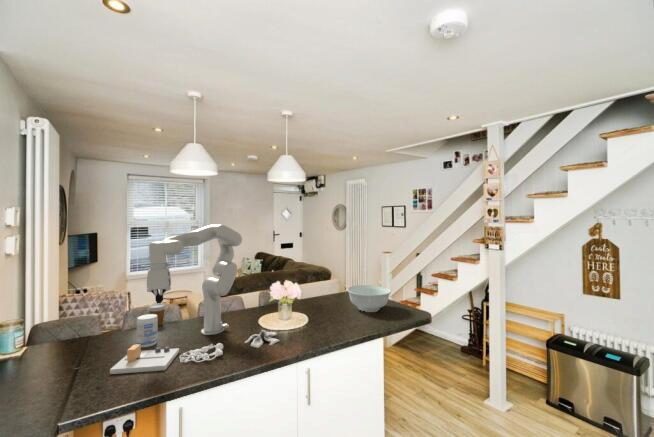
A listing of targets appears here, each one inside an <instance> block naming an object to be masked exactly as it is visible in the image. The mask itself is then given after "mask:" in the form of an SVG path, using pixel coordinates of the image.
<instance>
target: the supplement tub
mask: <svg viewBox="0 0 654 437" xmlns="http://www.w3.org/2000/svg"><path fill="white" fill-rule="evenodd" d="M158 327H159V326H158V318H157V315H156V314H149V313H148V314H142V315H140V316H137V318H136V344H141V348H148V347H152V346H154V345H156V344H157V343H158V330H159V328H158ZM136 344H135V345H136Z"/></svg>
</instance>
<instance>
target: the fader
mask: <svg viewBox="0 0 654 437" xmlns="http://www.w3.org/2000/svg"><path fill="white" fill-rule="evenodd" d="M141 351H142V347H141V344H133V345H131V346H130V347H129V348H128V349H127V350H126V355H127V361H135V360H136V359H137V358H138V357H139V356H140V355H141Z"/></svg>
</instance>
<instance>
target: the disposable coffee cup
mask: <svg viewBox="0 0 654 437" xmlns="http://www.w3.org/2000/svg"><path fill="white" fill-rule="evenodd" d="M147 310H148V312H149V313H148V314H156V315H157V318H158V327H160V326H162V325H164V317H165V316H164V315H165V310H166V305H165V304H164V303H158V304H157V303H155V304H153V305H150V306H149V307H148V309H147Z"/></svg>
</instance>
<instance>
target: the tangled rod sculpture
mask: <svg viewBox="0 0 654 437" xmlns="http://www.w3.org/2000/svg"><path fill="white" fill-rule="evenodd" d="M213 348H215V351H214V352H211V353H210V354H209V353H207V352H208V351H209V350H210V349H213ZM223 350H224V344H223V343H221V342H218V343H216V345H215V344H213V343H211V344H209V345H207V346H203V347H201V348H196V349H193V350H192V349H190V350H189V351H186V352H183V353H182V354H180V355H179V360H180V361H179V362H180V363H184V364H186V363H187V364H188V362H190V361H193V362H195V363H201V362H204V361H212V360H214V359H216V357H220V356H222V355H223V354H224V351H223ZM188 353H189V354H188ZM211 356H214V357H212V358H210V357H211ZM200 359H202V360H200Z"/></svg>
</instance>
